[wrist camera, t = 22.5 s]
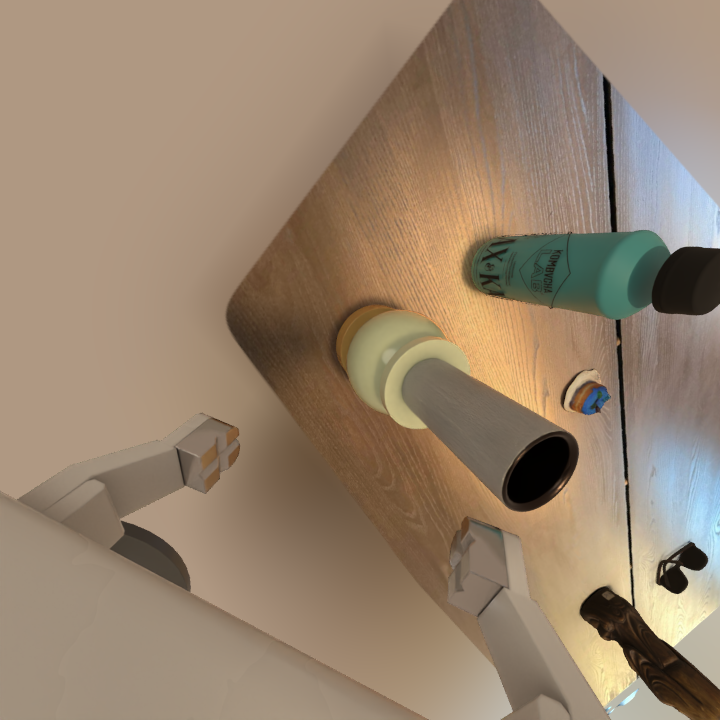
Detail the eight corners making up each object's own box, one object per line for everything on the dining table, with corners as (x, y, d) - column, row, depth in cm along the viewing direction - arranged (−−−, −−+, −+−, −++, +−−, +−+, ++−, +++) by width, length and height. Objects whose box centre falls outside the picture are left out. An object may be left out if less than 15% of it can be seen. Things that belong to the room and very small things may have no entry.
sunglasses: (674, 536, 84) (697, 552, 80) (691, 541, 90) (714, 556, 86) (638, 581, 87) (659, 598, 82) (658, 582, 93) (678, 599, 88)
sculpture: (570, 618, 81) (716, 802, 56) (586, 591, 76) (756, 781, 50) (602, 602, 85) (753, 769, 59) (619, 576, 80) (794, 746, 54)
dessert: (566, 424, 49) (598, 422, 43) (542, 390, 50) (570, 384, 44) (599, 400, 51) (633, 395, 45) (575, 367, 52) (605, 358, 46)
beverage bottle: (505, 230, 34) (776, 206, 16) (507, 286, 37) (741, 318, 19) (457, 244, 33) (696, 236, 15) (462, 302, 36) (670, 351, 18)
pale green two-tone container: (356, 399, 35) (400, 463, 25) (314, 330, 31) (345, 371, 20) (424, 355, 36) (495, 398, 26) (393, 282, 32) (463, 298, 21)
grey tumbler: (441, 346, 22) (574, 413, 13) (459, 390, 24) (585, 475, 15) (391, 379, 22) (492, 472, 12) (414, 421, 24) (515, 528, 14)
